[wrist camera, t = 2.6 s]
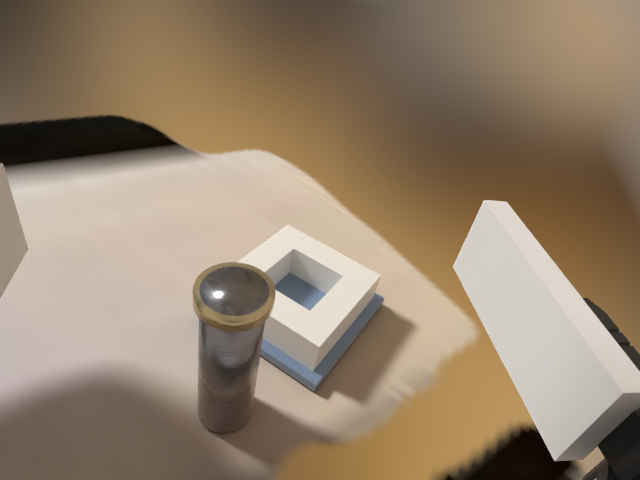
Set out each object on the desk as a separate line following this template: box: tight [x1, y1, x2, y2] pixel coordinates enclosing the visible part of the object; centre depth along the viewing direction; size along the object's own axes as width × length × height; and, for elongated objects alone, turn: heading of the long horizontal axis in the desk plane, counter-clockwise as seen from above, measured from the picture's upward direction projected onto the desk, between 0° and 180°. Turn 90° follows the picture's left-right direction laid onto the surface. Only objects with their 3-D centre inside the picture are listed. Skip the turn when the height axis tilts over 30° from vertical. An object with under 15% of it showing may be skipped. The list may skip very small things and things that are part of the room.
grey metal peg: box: [193, 262, 276, 434], centre depth 33 cm, size 5×5×14 cm
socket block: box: [237, 225, 384, 391], centre depth 46 cm, size 14×14×4 cm
